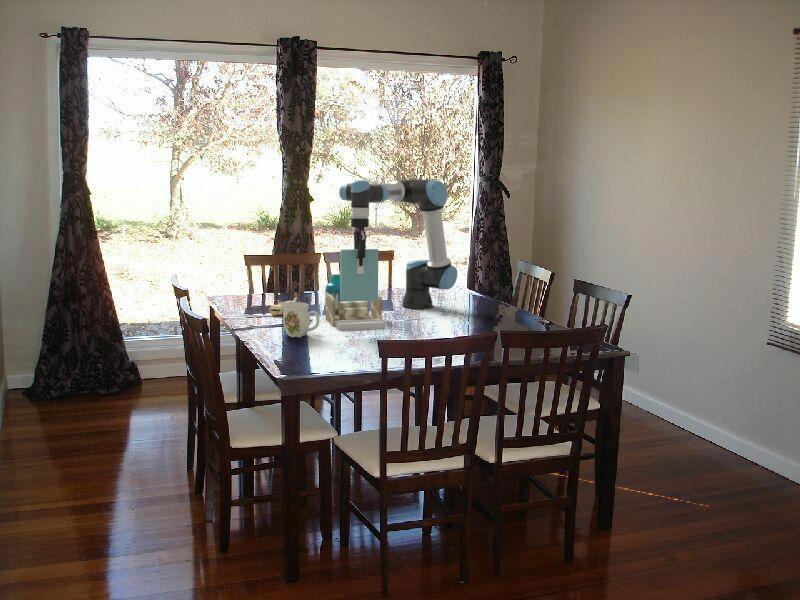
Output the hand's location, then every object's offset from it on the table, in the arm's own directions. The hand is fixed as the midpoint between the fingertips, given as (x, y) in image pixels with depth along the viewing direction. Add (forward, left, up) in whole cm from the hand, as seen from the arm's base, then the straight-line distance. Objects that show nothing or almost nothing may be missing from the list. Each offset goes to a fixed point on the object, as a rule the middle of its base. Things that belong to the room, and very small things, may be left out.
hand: (359, 272), depth 339 cm
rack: (0, -12, -25) cm, 28 cm away
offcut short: (0, -7, -24) cm, 25 cm away
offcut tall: (0, -11, -24) cm, 26 cm away
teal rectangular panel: (0, 0, -12) cm, 12 cm away
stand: (0, 0, -25) cm, 25 cm away
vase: (+3, -33, -25) cm, 42 cm away
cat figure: (+24, -47, -26) cm, 59 cm away
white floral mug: (+27, +4, -25) cm, 37 cm away
